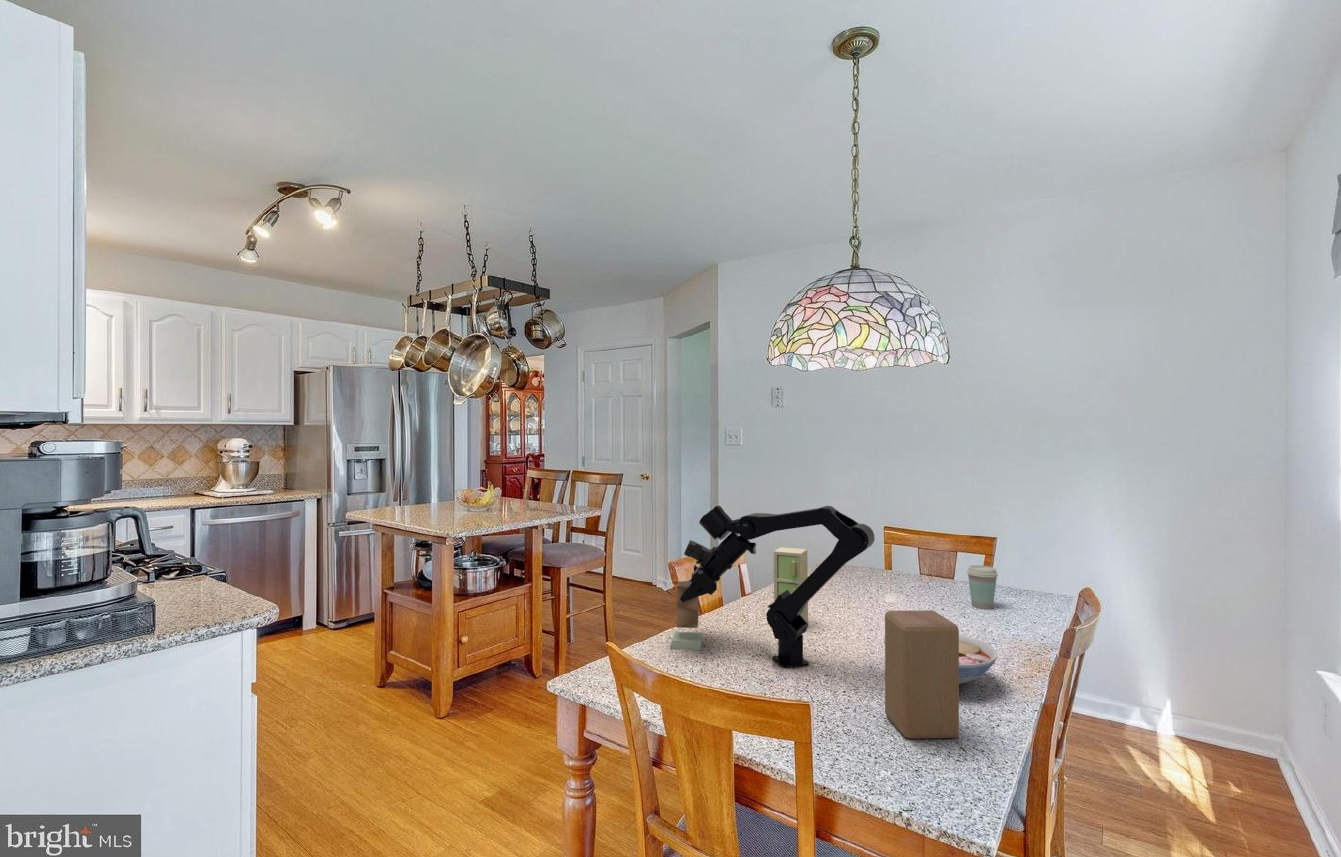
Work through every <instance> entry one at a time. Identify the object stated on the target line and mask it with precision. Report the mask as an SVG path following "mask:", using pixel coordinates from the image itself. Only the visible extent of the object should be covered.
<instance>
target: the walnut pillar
mask: <svg viewBox="0 0 1341 857" xmlns="http://www.w3.org/2000/svg"><path fill="white" fill-rule="evenodd" d="M690 584H691V582H689V581H680V580H679V581H678V582H677V584H676V628H679V629H680V628H681V629H682V628H683V629H698V628H699V627H698V626H699V597H696V598H693V599H690V600H688V601H685V602H682V601H681V600H680V598H681V597H682V595H683V594H684V592H685V591H686V589H687V588H688V587H689V585H690Z"/></svg>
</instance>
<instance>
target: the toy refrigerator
mask: <svg viewBox="0 0 1341 857" xmlns="http://www.w3.org/2000/svg"><path fill="white" fill-rule="evenodd" d="M808 566H809V565H808V549H805V548H798V547H797V548H795V547H785V546H784V547H781V546H780V547H778V548H777V549H775V550H773V594H774V595H773V602H774V601H775V600H776V598H777V597H778V596H779V595H780V594H782V593H783V592H785V591H786V590H788V591H789V592H790V594H792V593H793V592H794V591H795V590H796V589H797V588H798V587H799V586H800V585H801V584H802V583H803V582H804V581H805V580H806V579H807V578H808V577H809V576H808V574H809V573H808V571H809V570H808ZM800 615H801V616H802V617H803V619H804V620H805V621H806V622H807V623H808V624H809V601H808V602H807V604H806V606H805V608H804V610H803V611H802V613H801V614H800Z"/></svg>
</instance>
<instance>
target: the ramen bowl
mask: <svg viewBox="0 0 1341 857" xmlns="http://www.w3.org/2000/svg"><path fill="white" fill-rule="evenodd" d="M883 643H884V644H885V638H884V640H883ZM998 657H999V656H998V653H997V649H995V647H993V646H991V645H990V644H988V643H987V642H985V641H982V640H980V639H977V638H975V637H972V636H969V635H964V634H961V633H959V685H960V684H965V683H969V682H973V681H975V680H978V679H979V678H981V677H982V676H983V675H984V674H985V673H987V672H988V671H989V670H990V668H991V667H992V666H993V665H994V664H995V662H996V660H997V658H998Z"/></svg>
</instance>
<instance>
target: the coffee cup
mask: <svg viewBox="0 0 1341 857" xmlns="http://www.w3.org/2000/svg"><path fill="white" fill-rule="evenodd" d="M966 572H967V575H968V576H967V577H968V584H969V593H970V602H971V607H973V608H976V609H980V610H992V609H993V608H994V603H995V596H996V594H995V593H996V586H997V578H998V576H999V575H998V572H997V568H995V567H992V566H988V565H978V564H977V565H969V566H968V569H967V570H966Z"/></svg>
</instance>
